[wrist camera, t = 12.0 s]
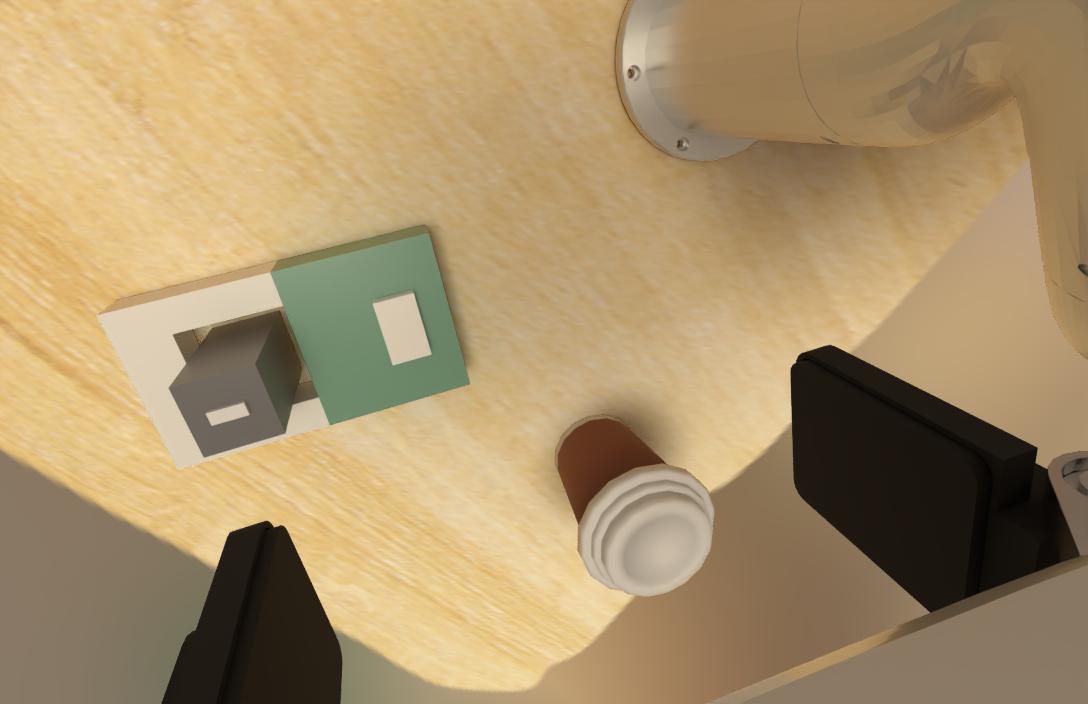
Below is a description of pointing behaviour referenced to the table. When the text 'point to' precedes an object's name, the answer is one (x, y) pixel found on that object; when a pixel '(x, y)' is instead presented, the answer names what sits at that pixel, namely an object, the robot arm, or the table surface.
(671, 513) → the coffee cup
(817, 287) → the table surface
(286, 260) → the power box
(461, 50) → the table surface
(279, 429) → the grey square peg
